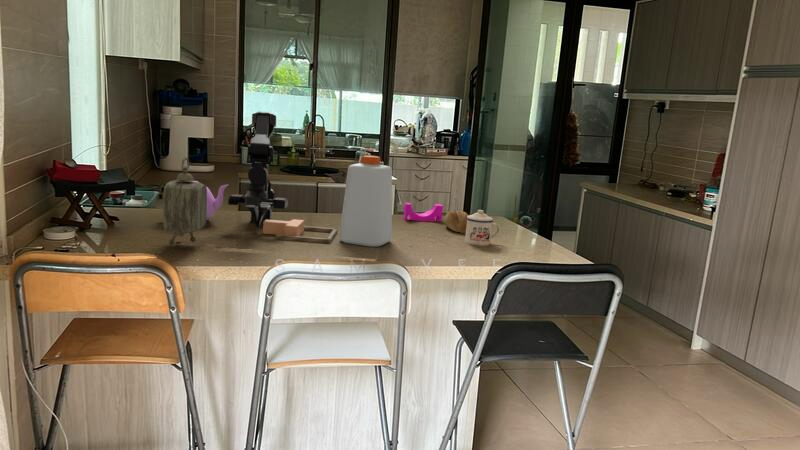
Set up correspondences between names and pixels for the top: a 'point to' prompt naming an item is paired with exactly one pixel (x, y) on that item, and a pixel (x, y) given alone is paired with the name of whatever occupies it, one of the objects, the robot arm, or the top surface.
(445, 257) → the top surface
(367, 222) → the plastic bottle
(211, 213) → the teapot
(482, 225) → the teacup with lid
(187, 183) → the tabletop clock
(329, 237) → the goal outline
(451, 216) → the bread roll
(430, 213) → the toy block
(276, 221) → the t puck
